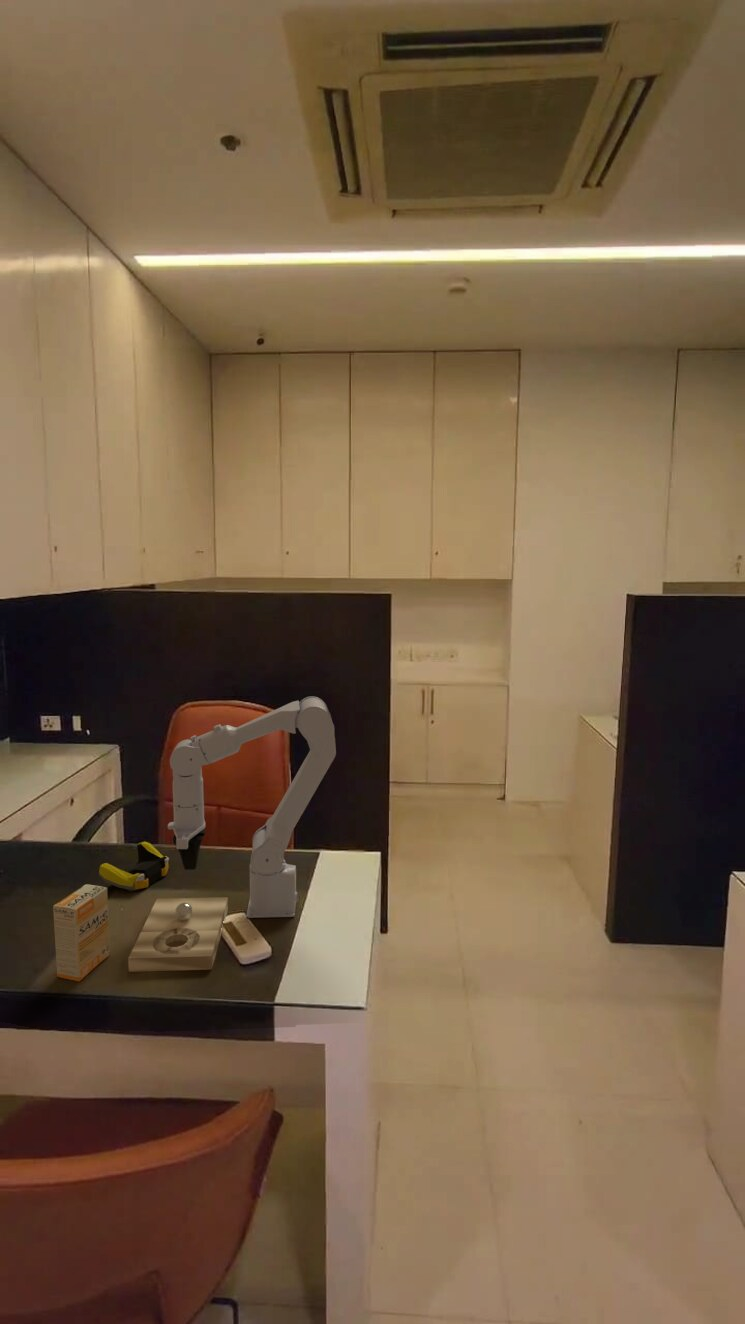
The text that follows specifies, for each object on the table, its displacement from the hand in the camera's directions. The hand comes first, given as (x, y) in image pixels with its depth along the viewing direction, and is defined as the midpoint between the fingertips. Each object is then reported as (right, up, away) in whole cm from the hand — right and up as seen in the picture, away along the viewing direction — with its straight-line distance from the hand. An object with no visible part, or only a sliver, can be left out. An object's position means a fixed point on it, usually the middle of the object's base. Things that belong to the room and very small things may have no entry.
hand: (190, 868), depth 133 cm
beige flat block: (+1, -11, -7) cm, 13 cm away
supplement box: (-14, -12, -16) cm, 25 cm away
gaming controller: (-15, -7, +15) cm, 23 cm away
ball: (0, -6, -6) cm, 9 cm away
